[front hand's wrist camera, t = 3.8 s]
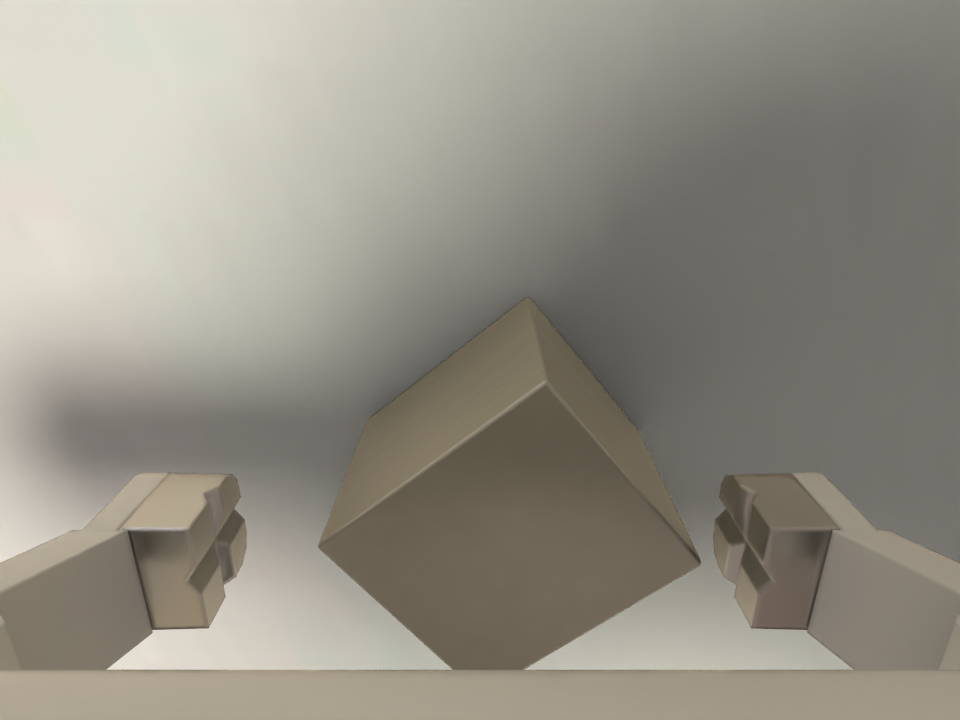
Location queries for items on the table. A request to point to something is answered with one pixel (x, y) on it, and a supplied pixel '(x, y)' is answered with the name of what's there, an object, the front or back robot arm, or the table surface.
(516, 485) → the block
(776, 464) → the table surface
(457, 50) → the table surface
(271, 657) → the table surface
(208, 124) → the table surface
